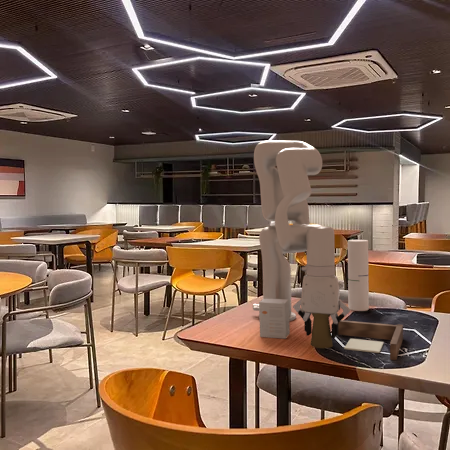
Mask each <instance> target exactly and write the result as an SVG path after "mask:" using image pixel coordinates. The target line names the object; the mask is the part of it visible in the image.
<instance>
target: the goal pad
mask: <svg viewBox="0 0 450 450" xmlns="http://www.w3.org/2000/svg"><path fill="white" fill-rule="evenodd" d="M384 344H385V343H384V341H377V340H371V339H370V340H369V339H368V340H367V339H360V338H351V337H350V338H349V340H348V342H347V343H346V345H345V346H344V347H343V348H344V349H343V350H348V351H355V352H356V351H357V352H367V353H375V354H380V353H381V351H382V349H383V346H384Z"/></svg>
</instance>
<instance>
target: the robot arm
mask: <svg viewBox="0 0 450 450" xmlns="http://www.w3.org/2000/svg"><path fill="white" fill-rule="evenodd" d="M253 163H254V164H253V165H254V168H255V171H256V174H257V177H258V180H259V188H260V203H261V204H260V205H261V212H262V213H261V214H262V216H263V218H264V220H266V221H268V222H274V225H267V226H266V227H263V228H262V229H261V230H260V232H259V236H258V239H259V246H260V252H261V260H262V262H261V263H262V294H263V296H262V300H263V299H288V300H289V322H291V321H294V320H295V319H297V314H298V315H299V317H301V319H302V320H303V322H304V324H303V325H304V332H305V335H306V337H308V336H310V335H312V327H313V320H312V319H311V316H312V313H319V314H328V315H330V318H331V321H332V323H331V324H330V329H331V337H332V340H334V339H335V338H336V337H337V336H338V333H339V329H338V322H340V321H341V320H343V319H344V318H345V317H346V316H347V315H349V313H350V312H351V310H350V309H349V308H348V306H347V304H345V303H344V301H343V300H342V299H341V293H340V285H339V284H340V283H339V280H338V276H337V275H335V273H336V271H335V270H336V269H335V267H336V265H335V262H336V261H335V259H336V258H335V254H336V253H335V250H336V249H335V230H334V228H333V227H332V226H325V225H321V224H318V223H317V224H316V223H313V224H310V210H309V204H308V200H307V199H308V198H309V197H311V195H312V188H311V187H312V186H311V183H310V180H309V176H315V175H318V174H319V173H320V172H321V171H322V168H323V158H322V155H321V153H320V152H319V150H318V149H317V148H315V147H314V146H312V145H310V144H309V143H307V142H304V141H301V140H280V139H279V140H277V139H276V140H272V139H271V140H270V139H269V140H264V141H261V142H259V143H257V144H256V146H255V148H254V152H253ZM289 222H291V223H292V224H290V223H289ZM304 252H306V265H304V266H303V265H302V266H301V271H302V272H305V274H306V275H304V276H303V280H302V285H301V286H302V287H301V294H300V295H301V298H300V299H299V300H298V301H297V302H296V303H295V304H293V306H292V271H291V269H292V268H291V264H290V261H288V260H287V258H286V257H285V255H284V254H294V253H295V254H296V253H304ZM292 308H293V309H294V310H295V312H296V313H295V312H292ZM341 309H342V312H341V313H340V314H338V312H339V311H340V310H341ZM252 310H253V311H257V312H259V303H258V304H257V303H253V304H252Z"/></svg>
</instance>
